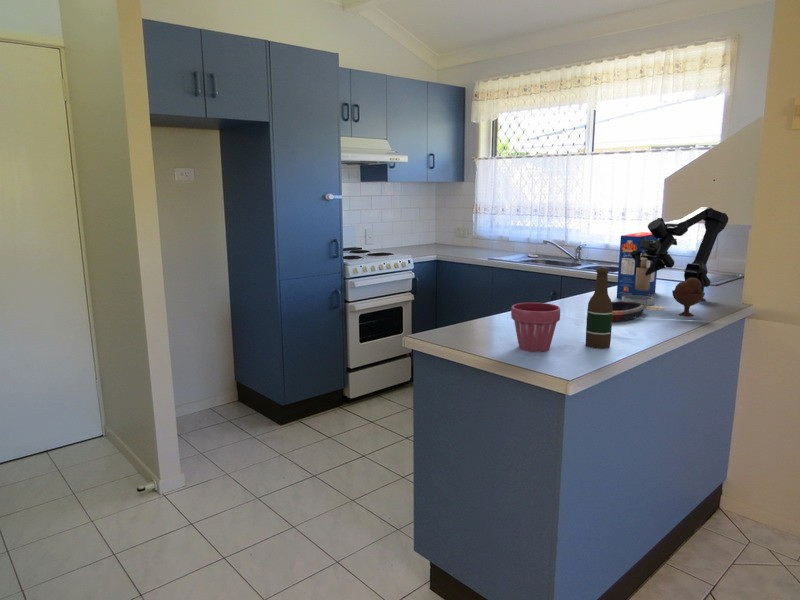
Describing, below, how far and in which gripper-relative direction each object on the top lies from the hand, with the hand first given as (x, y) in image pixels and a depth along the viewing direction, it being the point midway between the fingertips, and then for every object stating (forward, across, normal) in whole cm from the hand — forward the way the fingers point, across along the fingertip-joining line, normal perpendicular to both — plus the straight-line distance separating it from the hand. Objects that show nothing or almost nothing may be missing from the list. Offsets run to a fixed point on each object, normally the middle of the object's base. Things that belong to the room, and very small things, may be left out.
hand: (640, 273), depth 239 cm
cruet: (+4, 0, +6) cm, 7 cm away
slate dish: (+8, -2, +11) cm, 14 cm away
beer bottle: (+53, +43, -35) cm, 77 cm away
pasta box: (-3, -18, +22) cm, 28 cm away
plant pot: (+66, +37, -49) cm, 91 cm away
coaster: (+10, +9, +9) cm, 16 cm away
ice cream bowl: (+10, +24, +9) cm, 27 cm away
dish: (+28, +14, -9) cm, 32 cm away
